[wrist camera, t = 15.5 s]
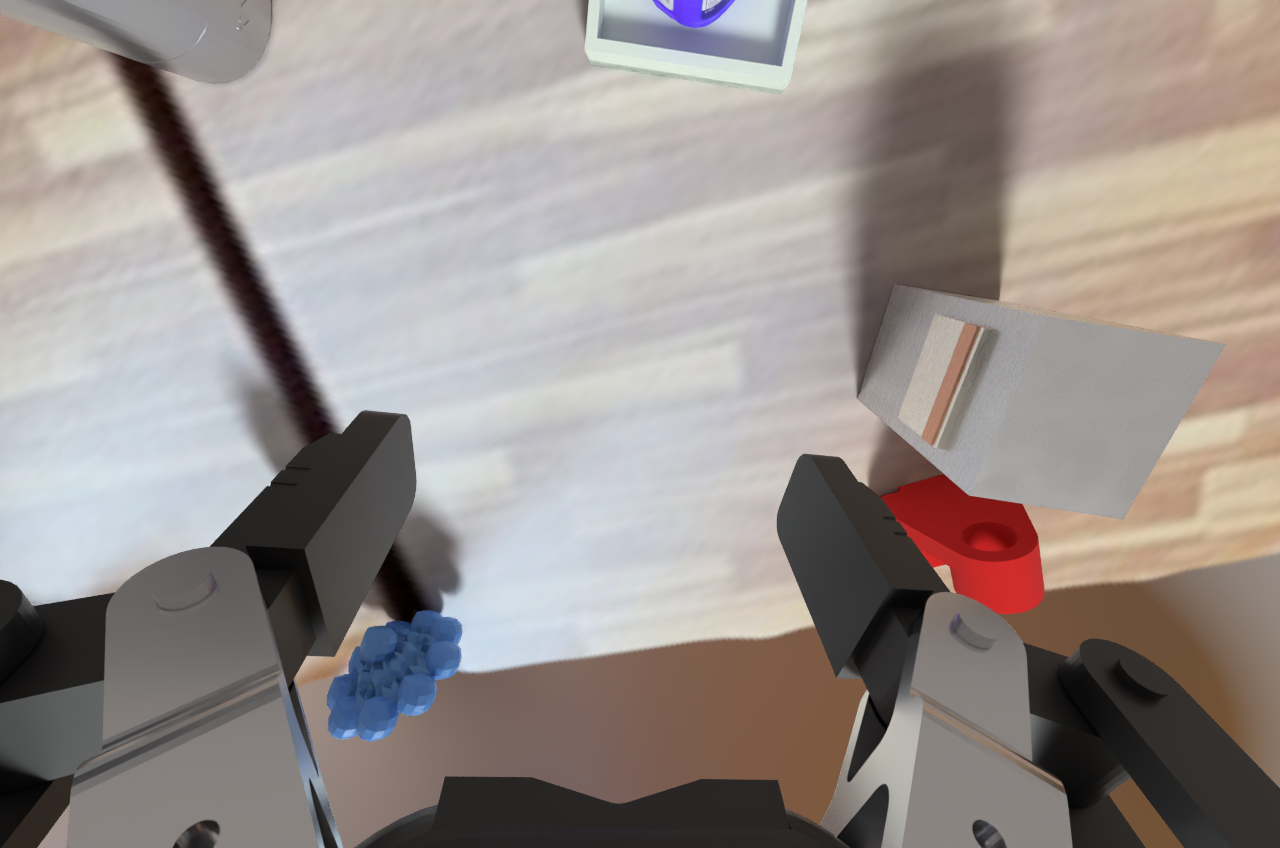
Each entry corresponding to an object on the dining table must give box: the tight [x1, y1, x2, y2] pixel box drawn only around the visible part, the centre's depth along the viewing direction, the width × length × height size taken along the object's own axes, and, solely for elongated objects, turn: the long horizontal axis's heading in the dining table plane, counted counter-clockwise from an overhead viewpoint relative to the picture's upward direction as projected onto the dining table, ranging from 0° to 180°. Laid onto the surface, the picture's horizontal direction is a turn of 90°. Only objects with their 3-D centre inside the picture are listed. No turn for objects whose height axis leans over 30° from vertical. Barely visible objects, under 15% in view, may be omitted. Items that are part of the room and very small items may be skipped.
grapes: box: [327, 610, 462, 741], centre depth 38 cm, size 12×7×12 cm, turn 111°
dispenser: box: [857, 284, 1226, 519], centre depth 27 cm, size 8×8×14 cm
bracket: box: [881, 474, 1045, 614], centre depth 33 cm, size 9×6×10 cm
